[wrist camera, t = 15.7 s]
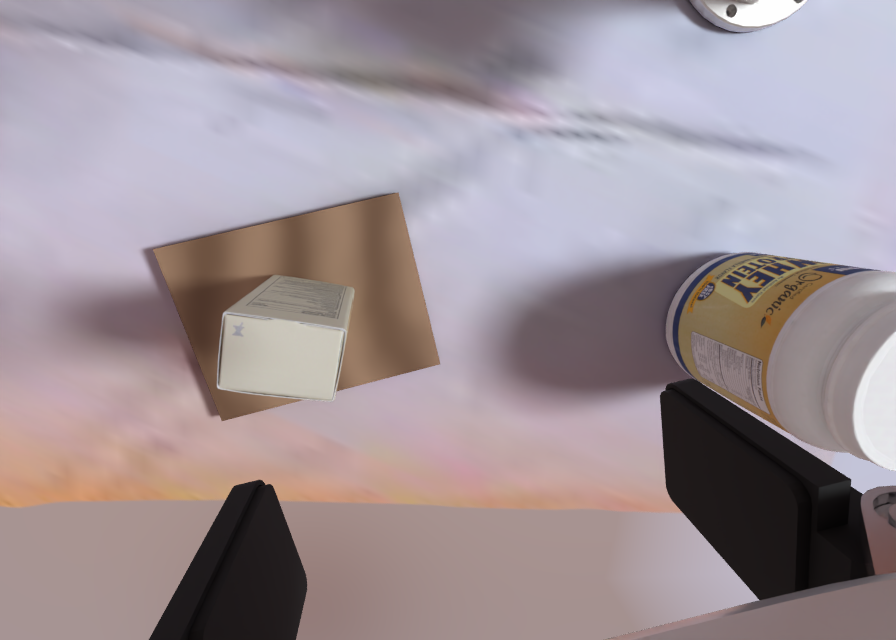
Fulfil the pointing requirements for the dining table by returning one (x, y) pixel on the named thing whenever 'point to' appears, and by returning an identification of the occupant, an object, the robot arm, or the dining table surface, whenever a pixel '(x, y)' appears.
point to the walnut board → (315, 258)
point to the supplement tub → (795, 347)
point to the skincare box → (286, 339)
